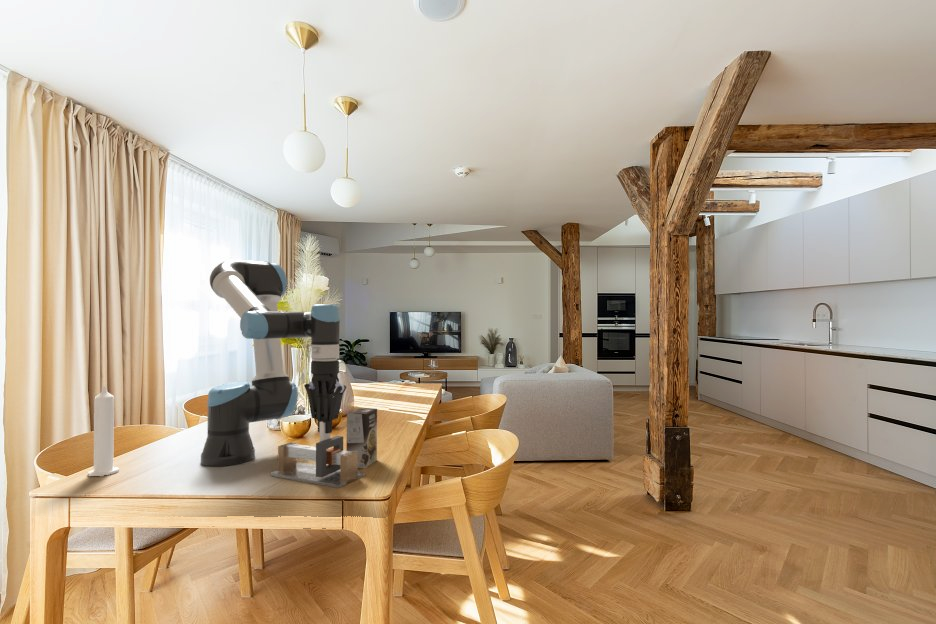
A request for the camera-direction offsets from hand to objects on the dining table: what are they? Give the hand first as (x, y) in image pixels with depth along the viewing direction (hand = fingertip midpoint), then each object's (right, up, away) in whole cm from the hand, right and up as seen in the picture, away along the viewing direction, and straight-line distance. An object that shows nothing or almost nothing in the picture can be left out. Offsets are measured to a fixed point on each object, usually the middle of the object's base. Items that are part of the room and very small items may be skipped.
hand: (324, 444), depth 136 cm
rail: (-2, -9, +1) cm, 9 cm away
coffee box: (+8, -9, +12) cm, 17 cm away
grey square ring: (+2, -8, -1) cm, 8 cm away
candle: (-64, -9, +3) cm, 65 cm away
